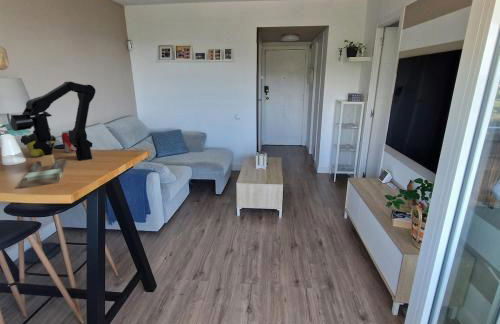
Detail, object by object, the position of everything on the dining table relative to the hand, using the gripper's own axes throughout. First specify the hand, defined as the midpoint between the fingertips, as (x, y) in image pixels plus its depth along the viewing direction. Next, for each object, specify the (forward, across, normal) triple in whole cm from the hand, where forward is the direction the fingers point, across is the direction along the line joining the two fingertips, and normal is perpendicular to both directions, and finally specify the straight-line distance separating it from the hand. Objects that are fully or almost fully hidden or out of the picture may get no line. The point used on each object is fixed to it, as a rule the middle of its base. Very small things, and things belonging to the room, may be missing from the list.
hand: (49, 159), depth 131 cm
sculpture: (+4, -32, -8) cm, 33 cm away
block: (+2, +4, 0) cm, 4 cm away
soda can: (+4, -32, +6) cm, 32 cm away
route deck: (+4, +12, 0) cm, 12 cm away
